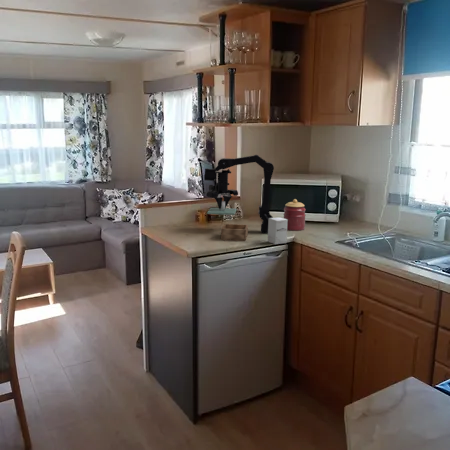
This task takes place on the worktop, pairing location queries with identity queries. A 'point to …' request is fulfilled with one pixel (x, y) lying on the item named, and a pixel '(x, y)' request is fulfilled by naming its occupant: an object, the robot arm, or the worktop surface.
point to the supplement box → (277, 230)
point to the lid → (222, 210)
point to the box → (234, 232)
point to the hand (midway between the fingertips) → (222, 208)
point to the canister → (295, 215)
